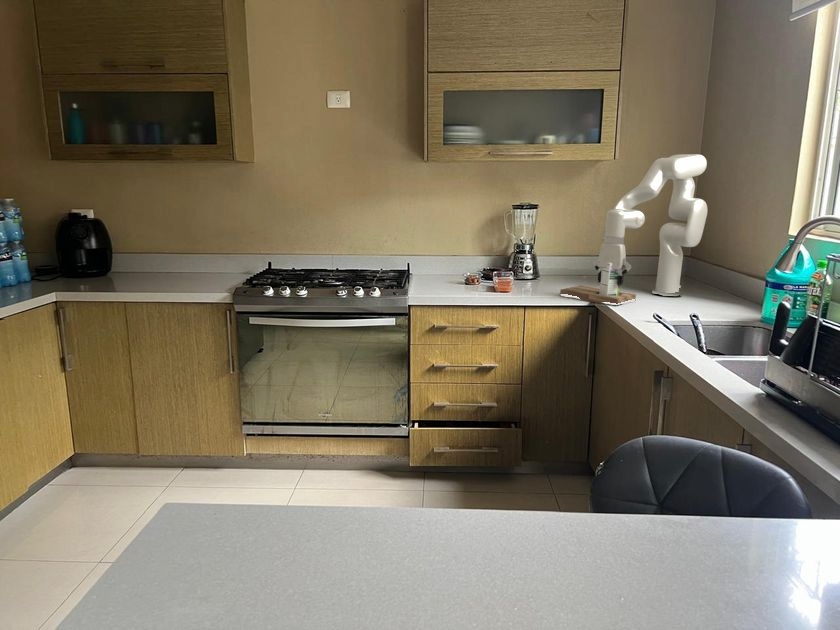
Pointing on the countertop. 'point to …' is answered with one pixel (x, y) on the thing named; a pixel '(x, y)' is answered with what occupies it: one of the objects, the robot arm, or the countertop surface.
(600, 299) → the board
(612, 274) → the syrup box
